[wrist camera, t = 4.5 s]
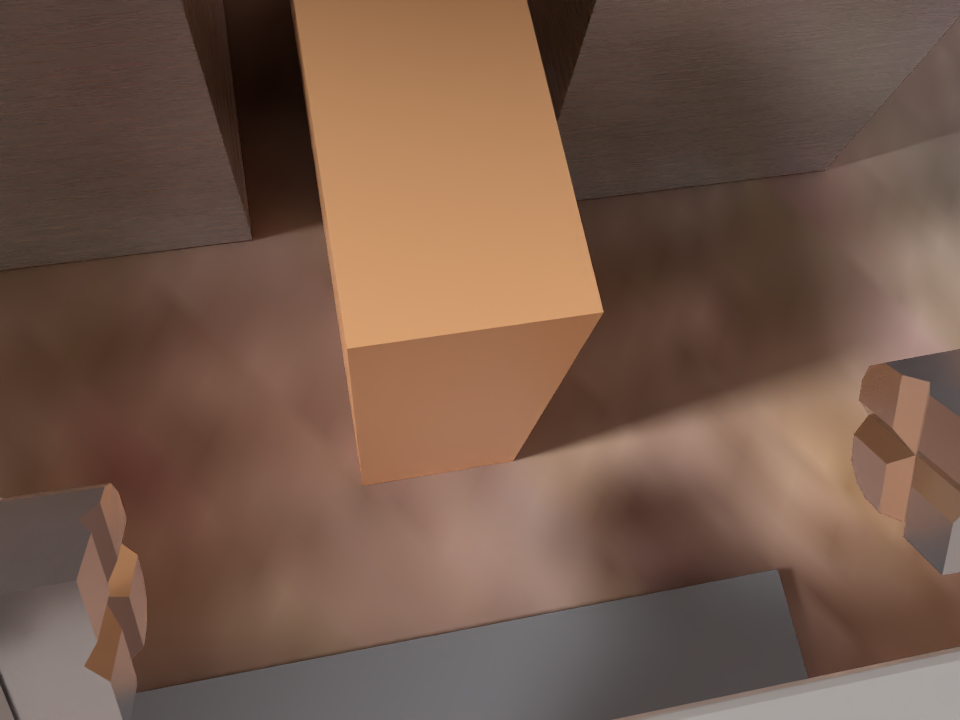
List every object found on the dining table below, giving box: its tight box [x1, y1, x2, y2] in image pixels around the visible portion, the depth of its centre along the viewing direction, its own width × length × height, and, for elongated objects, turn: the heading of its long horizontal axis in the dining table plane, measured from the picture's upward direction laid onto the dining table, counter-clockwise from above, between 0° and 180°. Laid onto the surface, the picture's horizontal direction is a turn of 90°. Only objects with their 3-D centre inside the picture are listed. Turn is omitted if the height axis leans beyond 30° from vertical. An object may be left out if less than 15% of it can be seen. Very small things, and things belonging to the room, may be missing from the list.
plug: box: [290, 0, 603, 486], centre depth 16 cm, size 12×3×8 cm, turn 11°
